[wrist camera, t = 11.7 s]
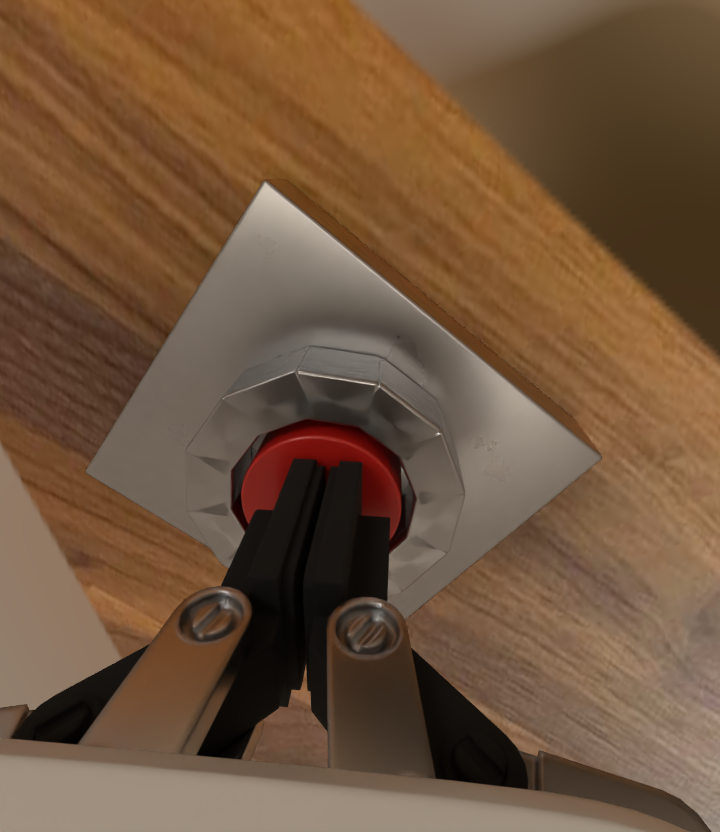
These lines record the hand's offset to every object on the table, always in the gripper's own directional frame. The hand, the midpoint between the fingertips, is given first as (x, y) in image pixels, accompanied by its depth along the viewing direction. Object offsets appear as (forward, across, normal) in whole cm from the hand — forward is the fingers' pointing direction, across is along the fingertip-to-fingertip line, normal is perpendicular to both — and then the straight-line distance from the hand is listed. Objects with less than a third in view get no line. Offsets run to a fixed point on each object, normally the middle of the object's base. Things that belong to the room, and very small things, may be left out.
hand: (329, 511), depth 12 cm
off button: (+2, 0, 0) cm, 2 cm away
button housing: (+4, 0, 0) cm, 4 cm away
